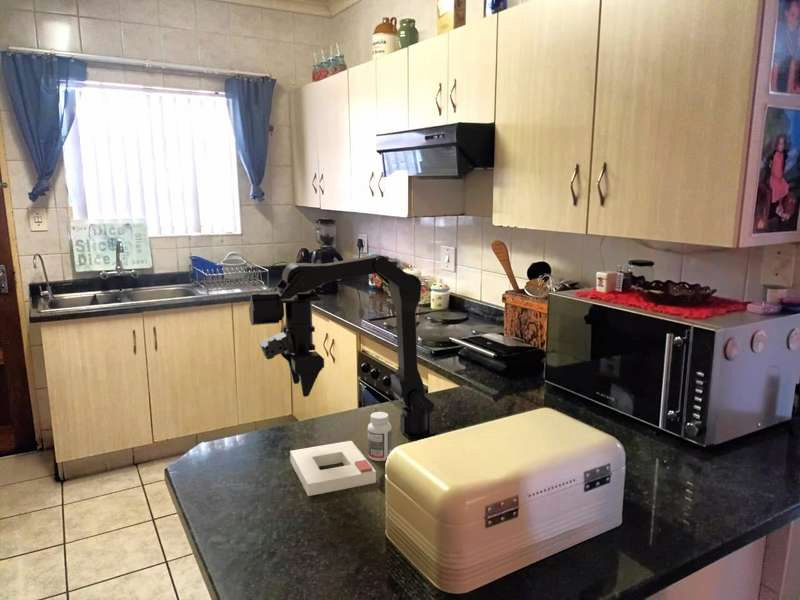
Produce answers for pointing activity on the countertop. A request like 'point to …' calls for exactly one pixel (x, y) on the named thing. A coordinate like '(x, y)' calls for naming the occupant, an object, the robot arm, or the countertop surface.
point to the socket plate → (331, 479)
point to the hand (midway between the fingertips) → (300, 389)
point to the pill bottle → (379, 436)
